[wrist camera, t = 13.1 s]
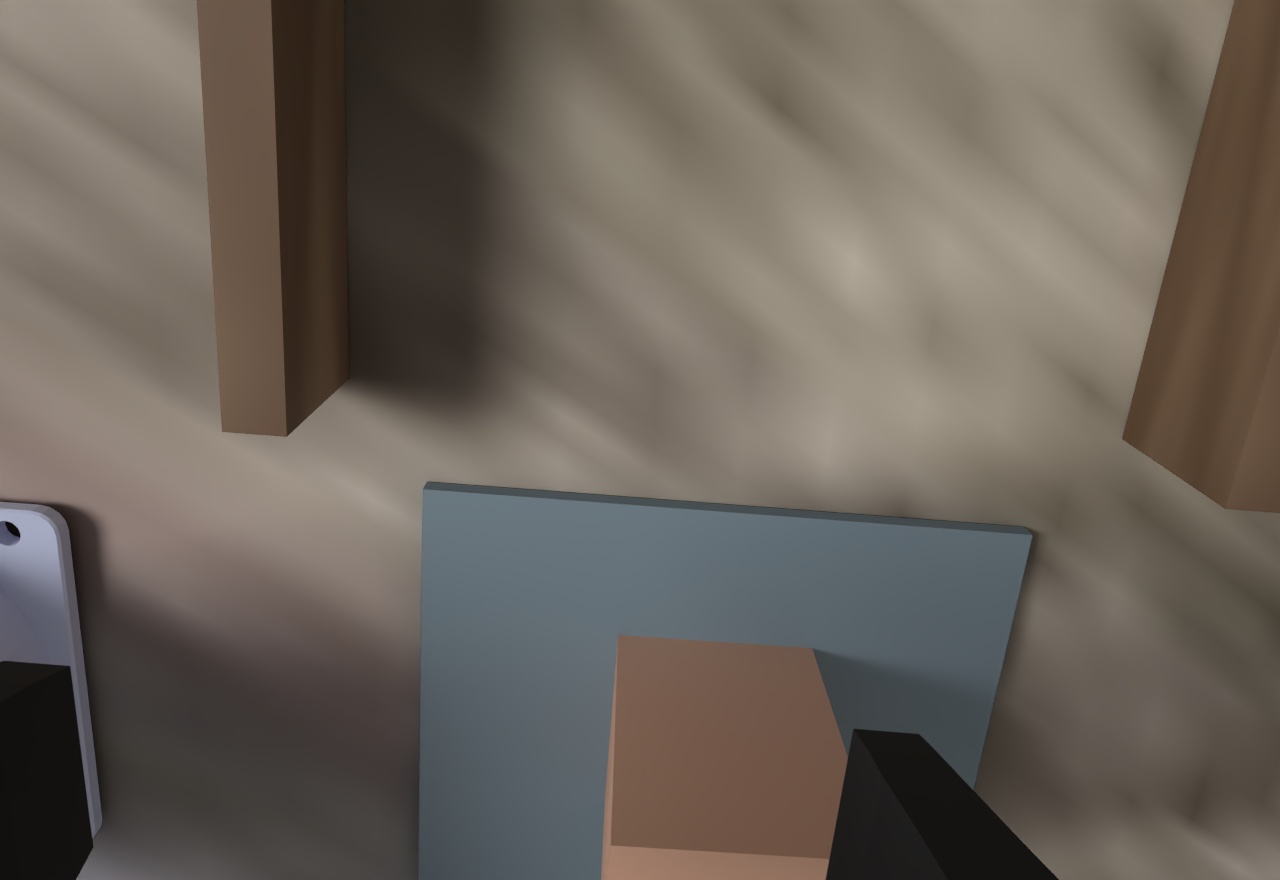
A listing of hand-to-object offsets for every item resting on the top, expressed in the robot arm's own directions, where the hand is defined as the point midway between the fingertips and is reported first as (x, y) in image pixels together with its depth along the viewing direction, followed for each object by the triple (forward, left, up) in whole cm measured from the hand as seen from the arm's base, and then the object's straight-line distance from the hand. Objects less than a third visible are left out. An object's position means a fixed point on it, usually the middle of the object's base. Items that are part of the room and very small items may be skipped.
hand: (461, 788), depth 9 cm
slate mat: (+4, -6, -10) cm, 13 cm away
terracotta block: (+4, -6, -10) cm, 12 cm away
